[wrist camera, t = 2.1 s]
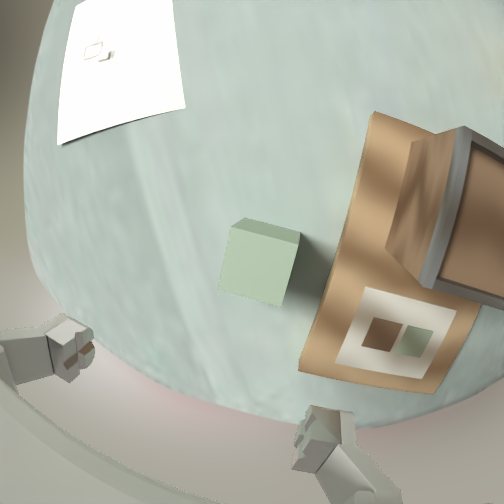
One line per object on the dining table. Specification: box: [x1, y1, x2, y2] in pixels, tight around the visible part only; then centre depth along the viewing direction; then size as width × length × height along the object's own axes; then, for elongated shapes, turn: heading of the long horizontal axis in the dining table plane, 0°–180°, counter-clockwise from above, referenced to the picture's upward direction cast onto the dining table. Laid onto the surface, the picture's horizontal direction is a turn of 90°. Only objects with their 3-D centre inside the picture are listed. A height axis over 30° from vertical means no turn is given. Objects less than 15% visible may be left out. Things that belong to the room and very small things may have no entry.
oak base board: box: [298, 111, 504, 394], centre depth 19 cm, size 24×16×11 cm, turn 167°
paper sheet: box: [57, 0, 185, 145], centre depth 23 cm, size 24×29×1 cm
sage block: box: [218, 218, 300, 307], centre depth 24 cm, size 5×5×5 cm
